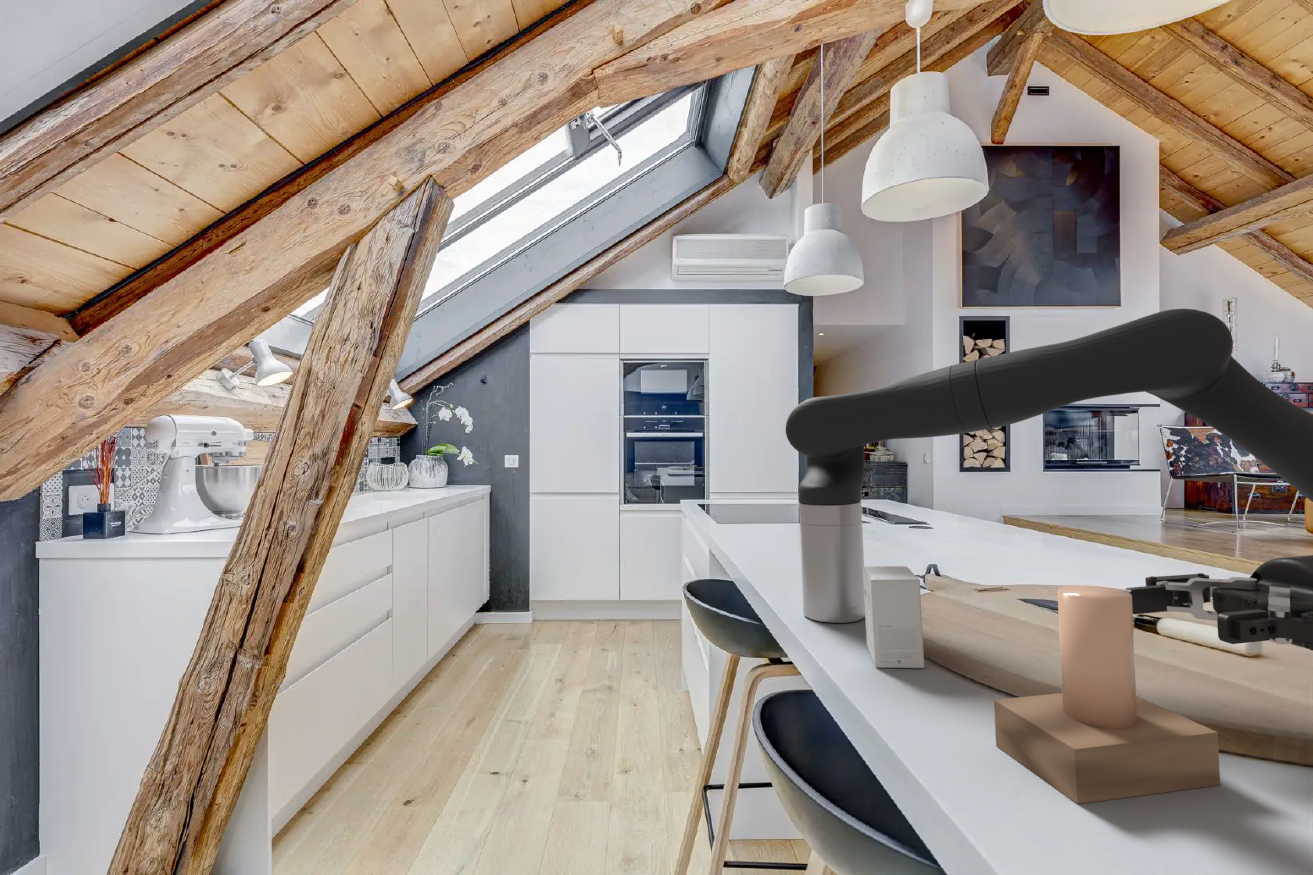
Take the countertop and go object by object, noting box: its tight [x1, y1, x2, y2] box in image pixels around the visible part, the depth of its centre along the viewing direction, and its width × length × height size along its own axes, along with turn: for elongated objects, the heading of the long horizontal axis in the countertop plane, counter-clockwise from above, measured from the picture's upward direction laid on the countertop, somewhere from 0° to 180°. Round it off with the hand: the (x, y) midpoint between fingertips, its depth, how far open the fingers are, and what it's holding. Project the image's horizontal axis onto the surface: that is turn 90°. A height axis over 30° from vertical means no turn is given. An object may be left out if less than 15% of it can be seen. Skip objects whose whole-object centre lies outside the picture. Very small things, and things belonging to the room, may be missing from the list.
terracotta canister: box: [1057, 584, 1138, 729], centre depth 52 cm, size 5×5×10 cm
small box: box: [863, 565, 925, 669], centre depth 78 cm, size 8×6×10 cm
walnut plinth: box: [993, 692, 1221, 805], centre depth 52 cm, size 9×12×4 cm
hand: (1170, 614), depth 53 cm, fingers open, 8 cm apart
